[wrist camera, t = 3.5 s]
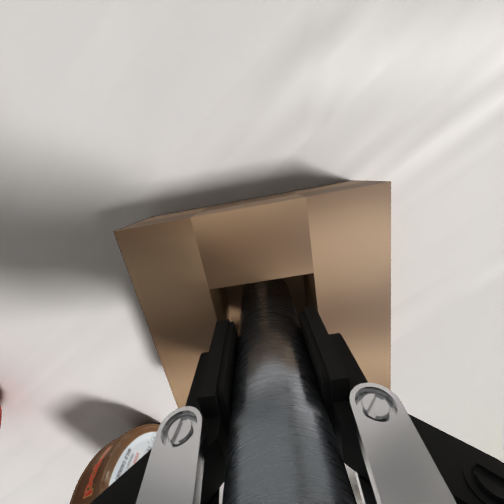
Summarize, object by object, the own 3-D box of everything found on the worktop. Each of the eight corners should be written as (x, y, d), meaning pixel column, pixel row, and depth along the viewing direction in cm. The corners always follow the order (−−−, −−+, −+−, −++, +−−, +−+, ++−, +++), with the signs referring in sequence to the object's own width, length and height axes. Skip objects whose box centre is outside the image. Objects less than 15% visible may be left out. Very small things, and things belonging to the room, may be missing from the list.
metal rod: (238, 276, 15) (76, 1333, 1) (285, 268, 14) (687, 1395, 1) (246, 317, 15) (207, 1181, 2) (291, 310, 15) (550, 1207, 2)
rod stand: (151, 216, 14) (113, 231, 10) (351, 180, 13) (391, 181, 10) (199, 372, 18) (184, 426, 14) (359, 350, 17) (390, 400, 13)
